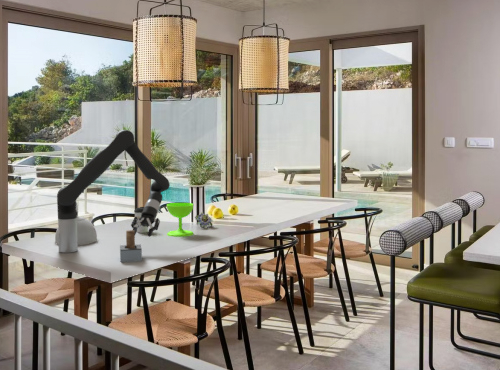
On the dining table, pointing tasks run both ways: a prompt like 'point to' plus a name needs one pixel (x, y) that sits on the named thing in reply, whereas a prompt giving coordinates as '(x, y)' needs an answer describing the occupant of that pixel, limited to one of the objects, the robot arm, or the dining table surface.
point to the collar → (130, 253)
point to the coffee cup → (138, 215)
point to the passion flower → (204, 220)
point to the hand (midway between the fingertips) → (141, 235)
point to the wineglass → (180, 217)
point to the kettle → (83, 231)
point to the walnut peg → (130, 239)
